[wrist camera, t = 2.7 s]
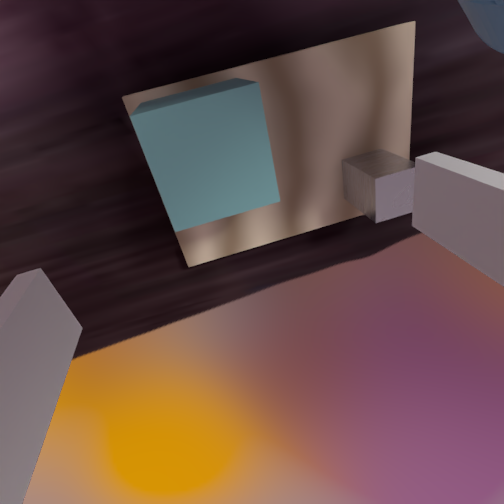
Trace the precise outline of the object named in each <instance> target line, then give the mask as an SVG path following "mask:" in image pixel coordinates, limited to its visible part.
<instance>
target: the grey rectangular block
mask: <svg viewBox="0 0 504 504" xmlns="http://www.w3.org/2000/svg"><path fill="white" fill-rule="evenodd" d="M342 174H343V188H344V199H345V200H347V201H348V202H349V203H351V204H352V205H353V206H354V207H356V208H357V209H358V210H360V211H361V212H362V213H363V214H365V215H366V216H367V217H369V218H370V219H371V220H372V221H374V222H375V223H378V222H381V221H385V220H388V219H391V218H394V217H398V216H401V215H404V214H408V213H411V212H413V197H414V178H415V162H413V161H411V160H408V159H406V158H403V157H401V156H398V155H396V154H393V153H391V152H388V151H386V150H383V149H378V150H375V151H371V152H368V153H364V154H361V155H357V156H354V157H350V158H347V159H343V160H342Z"/></svg>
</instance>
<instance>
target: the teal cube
mask: <svg viewBox="0 0 504 504" xmlns="http://www.w3.org/2000/svg"><path fill="white" fill-rule="evenodd" d="M130 119H131V121H132V124H133V126H134V129H135V131H136V134H137V137H138V139H139V142H140V144H141V147H142V149H143V152H144V154H145V157H146V159H147V162H148V164H149V167H150V170H151V172H152V175H153V177H154V180H155V182H156V185H157V187H158V190H159V192H160V195H161V198H162V200H163V203H164V205H165V208H166V210H167V213H168V215H169V218H170V220H171V223H172V226H173V228H174V231H175V232H178V231H181V230H184V229H188V228H191V227H195V226H198V225H201V224H205V223H208V222H212V221H215V220H219V219H222V218H225V217H229V216H232V215H236V214H239V213H242V212H246V211H249V210H253V209H256V208H260V207H263V206H266V205H270V204H273V203H277V202H280V196H279V191H278V185H277V180H276V174H275V169H274V163H273V158H272V153H271V147H270V142H269V136H268V131H267V125H266V120H265V114H264V109H263V103H262V98H261V92H260V87H259V82H255V81H250V80H245V79H240V78H234V79H230V80H226V81H222V82H218V83H215V84H211V85H207V86H203V87H199V88H195V89H192V90H188V91H184V92H180V93H176V94H173V95H169V96H165V97H161V98H157V99H154V100H150V101H146V102H142V103H140V105H139V106H138V107H137V108H136V109H135V111H134V112H133V113H132V114H131V115H130Z"/></svg>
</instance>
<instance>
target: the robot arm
mask: <svg viewBox="0 0 504 504" xmlns="http://www.w3.org/2000/svg"><path fill="white" fill-rule="evenodd" d="M458 2H459V4H460V5H461V7H462V9H463V11H464V12H465V14H466V16H467V18H468V20H469V21H470V23H471V25H472V27H473V28H474V30H475V32H476V34H477V35H478V36H479V37H480V38H481V40H482V41H483V42H485V43H486V44H487V45H488V46H490V47H491V48H493V49H495V50H497V51H498V52H501V53H504V0H458ZM412 226H413V227H415V228H416V229H418V230H419V231H421V232H422V233H424V234H425V235H427V236H428V237H430V238H431V239H433V240H434V241H436V242H437V243H439V244H440V245H442V246H443V247H445V248H447V249H448V250H449V251H451V252H452V253H454V254H455V255H457V256H458V257H460V258H461V259H463V260H465V261H466V262H467V263H469V264H470V265H472V266H473V267H475V268H476V269H478V270H479V271H481V272H482V273H484V274H485V275H487V276H489V277H490V278H491V279H493V280H494V281H496V282H497V283H499V284H501V285H502V286H504V173H500V172H497V171H494V170H491V169H488V168H485V167H482V166H479V165H476V164H473V163H469V162H466V161H463V160H460V159H457V158H454V157H451V156H448V155H445V154H442V153H439V152H432V153H429V154H426V155H422V156H419V157H416V159H415V178H414V197H413V216H412ZM81 331H82V327H81V325H80V324H79V322H78V321H77V319H76V318H75V317H74V315H73V314H72V312H71V311H70V309H69V308H68V306H67V305H66V304H65V302H64V301H63V299H62V298H61V296H60V295H59V294H58V292H57V291H56V289H55V288H54V286H53V285H52V284H51V282H50V281H49V279H48V278H47V276H46V275H45V273H44V272H43V271H42V269H41V268H39V269H36V270H32V271H29V272H25V273H22V274H19V275H16V277H15V278H14V279H13V281H12V282H11V283H10V285H9V286H8V287H7V289H6V290H5V292H4V293H3V294H2V296H1V297H0V504H22V503H23V500H24V498H25V495H26V492H27V489H28V486H29V483H30V480H31V477H32V474H33V471H34V468H35V465H36V462H37V459H38V457H39V454H40V451H41V448H42V445H43V442H44V439H45V436H46V433H47V430H48V427H49V424H50V422H51V419H52V416H53V413H54V410H55V407H56V404H57V401H58V398H59V395H60V392H61V389H62V386H63V384H64V381H65V378H66V375H67V372H68V369H69V366H70V363H71V360H72V357H73V354H74V351H75V349H76V346H77V343H78V340H79V337H80V334H81Z"/></svg>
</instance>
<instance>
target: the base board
mask: <svg viewBox="0 0 504 504" xmlns="http://www.w3.org/2000/svg"><path fill="white" fill-rule="evenodd" d="M415 22H416V21H412V22H407V23H402V24H398V25H395V26H391V27H387V28H383V29H379V30H375V31H372V32H368V33H364V34H360V35H356V36H352V37H348V38H345V39H341V40H337V41H333V42H329V43H325V44H322V45H318V46H314V47H310V48H306V49H302V50H299V51H295V52H291V53H287V54H283V55H279V56H276V57H272V58H268V59H264V60H260V61H256V62H252V63H249V64H245V65H241V66H237V67H233V68H229V69H226V70H222V71H218V72H214V73H210V74H206V75H203V76H199V77H195V78H191V79H187V80H183V81H180V82H176V83H172V84H168V85H164V86H160V87H156V88H153V89H149V90H145V91H141V92H137V93H133V94H130V95H126V96H123V97H122V99H123V102H124V104H125V107H126V109H127V112H128V114H129V117H130V115H131V114H132V113H133V112H134V111H135V109H136V108H137V107H138V106H139V105H140V103H142V102H146V101H150V100H154V99H157V98H161V97H165V96H169V95H173V94H176V93H180V92H184V91H188V90H192V89H195V88H199V87H203V86H207V85H211V84H215V83H218V82H222V81H226V80H230V79H234V78H240V79H245V80H250V81H255V82H259V87H260V92H261V98H262V103H263V109H264V114H265V120H266V125H267V131H268V136H269V142H270V147H271V153H272V158H273V163H274V169H275V174H276V180H277V185H278V191H279V196H280V202H277V203H273V204H270V205H266V206H263V207H260V208H256V209H253V210H249V211H246V212H242V213H239V214H236V215H232V216H229V217H225V218H222V219H219V220H215V221H212V222H208V223H205V224H201V225H198V226H195V227H191V228H188V229H184V230H181V231H178V232H175V234H176V236H177V239H178V241H179V244H180V247H181V249H182V252H183V254H184V257H185V259H186V262H187V264H188V267H191V266H195V265H198V264H201V263H205V262H208V261H211V260H215V259H218V258H221V257H225V256H228V255H231V254H235V253H238V252H241V251H245V250H248V249H251V248H254V247H258V246H261V245H264V244H268V243H271V242H274V241H278V240H281V239H284V238H288V237H291V236H294V235H298V234H301V233H304V232H308V231H311V230H314V229H318V228H321V227H324V226H328V225H331V224H334V223H337V222H341V221H344V220H347V219H351V218H354V217H357V216H361V215H364V214H363V213H362V212H361V211H360V210H358V209H357V208H356V207H354V206H353V205H352V204H351V203H349V202H348V201H347V200H345V199H344V188H343V174H342V160H343V159H347V158H350V157H354V156H357V155H361V154H364V153H368V152H371V151H375V150H378V149H383V150H386V151H388V152H391V153H393V154H396V155H398V156H401V157H403V158H406V159H408V160H409V154H410V132H411V110H412V88H413V66H414V44H415ZM130 120H131V119H130ZM131 122H132V121H131ZM132 125H133V124H132ZM133 127H134V126H133ZM134 130H135V129H134ZM135 132H136V131H135ZM136 135H137V134H136ZM138 140H139V139H138ZM140 145H141V144H140ZM142 150H143V149H142ZM143 153H144V152H143ZM144 155H145V154H144ZM145 158H146V157H145ZM146 160H147V159H146ZM147 163H148V162H147ZM148 165H149V164H148ZM149 168H150V167H149ZM151 173H152V172H151ZM153 178H154V177H153ZM155 183H156V182H155ZM156 186H157V185H156ZM157 188H158V187H157ZM158 191H159V190H158ZM159 193H160V192H159ZM160 196H161V195H160ZM162 201H163V200H162ZM164 206H165V205H164ZM166 211H167V210H166ZM167 214H168V213H167ZM168 216H169V215H168ZM169 219H170V218H169ZM170 221H171V220H170ZM171 224H172V223H171ZM173 229H174V228H173Z"/></svg>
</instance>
